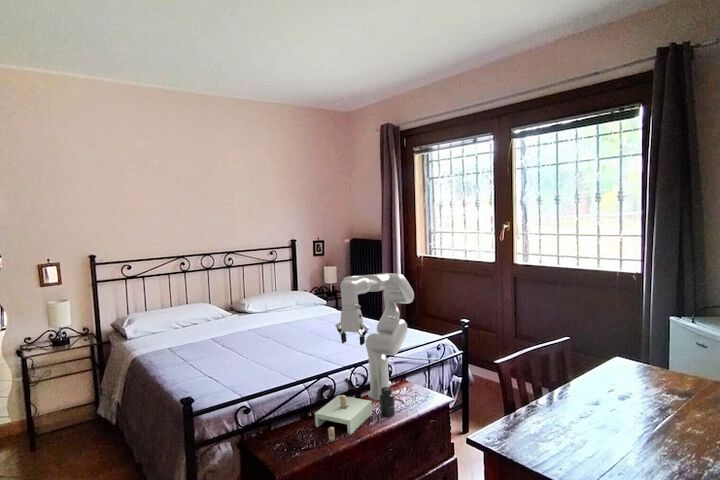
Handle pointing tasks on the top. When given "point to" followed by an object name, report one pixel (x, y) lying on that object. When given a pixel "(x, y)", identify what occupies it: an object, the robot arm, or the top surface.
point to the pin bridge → (345, 412)
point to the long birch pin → (343, 401)
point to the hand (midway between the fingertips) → (353, 343)
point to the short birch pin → (331, 434)
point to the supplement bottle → (387, 402)
